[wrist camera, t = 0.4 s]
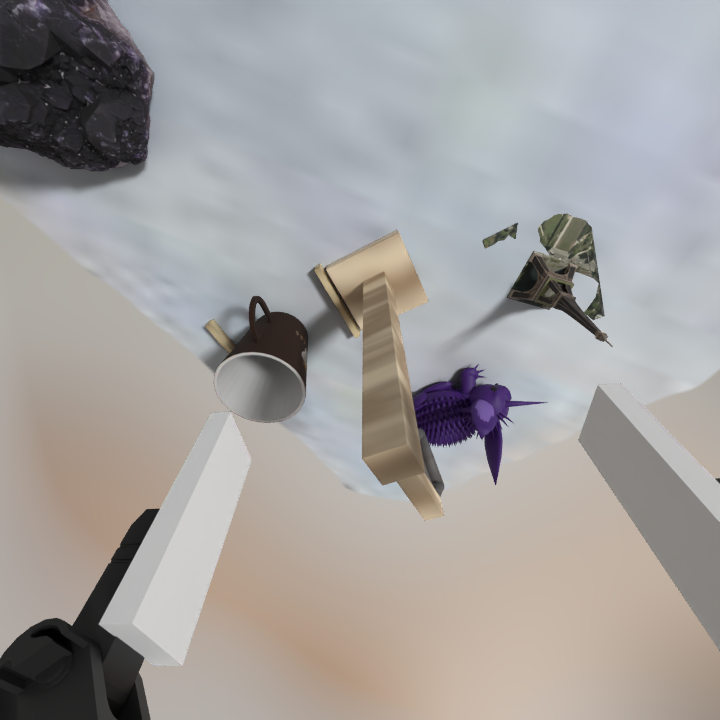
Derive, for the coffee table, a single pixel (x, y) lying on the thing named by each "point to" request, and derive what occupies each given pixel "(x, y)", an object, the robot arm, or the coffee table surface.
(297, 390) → the coffee mug
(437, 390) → the creature
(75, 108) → the crystal cluster
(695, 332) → the coffee table surface
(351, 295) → the mug stand
